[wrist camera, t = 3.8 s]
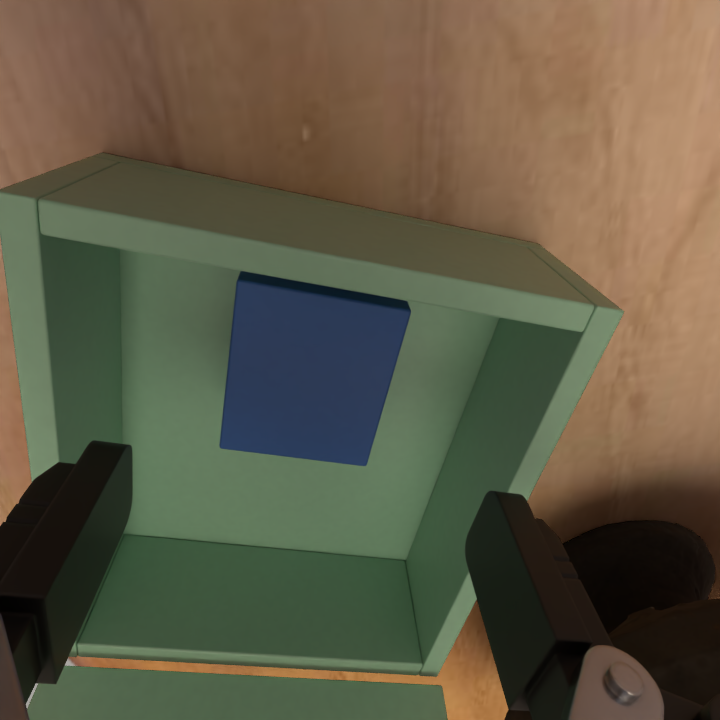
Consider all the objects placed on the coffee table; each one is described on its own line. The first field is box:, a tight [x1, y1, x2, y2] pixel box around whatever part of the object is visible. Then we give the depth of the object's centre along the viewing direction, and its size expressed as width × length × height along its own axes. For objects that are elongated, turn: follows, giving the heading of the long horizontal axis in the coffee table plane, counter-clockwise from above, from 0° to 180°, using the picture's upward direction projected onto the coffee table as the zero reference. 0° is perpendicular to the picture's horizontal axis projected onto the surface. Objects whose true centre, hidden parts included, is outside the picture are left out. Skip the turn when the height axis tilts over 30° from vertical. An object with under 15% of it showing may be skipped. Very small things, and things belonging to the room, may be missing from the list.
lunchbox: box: [0, 153, 624, 677], centre depth 18 cm, size 17×15×6 cm
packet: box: [219, 271, 411, 466], centre depth 17 cm, size 5×6×3 cm
